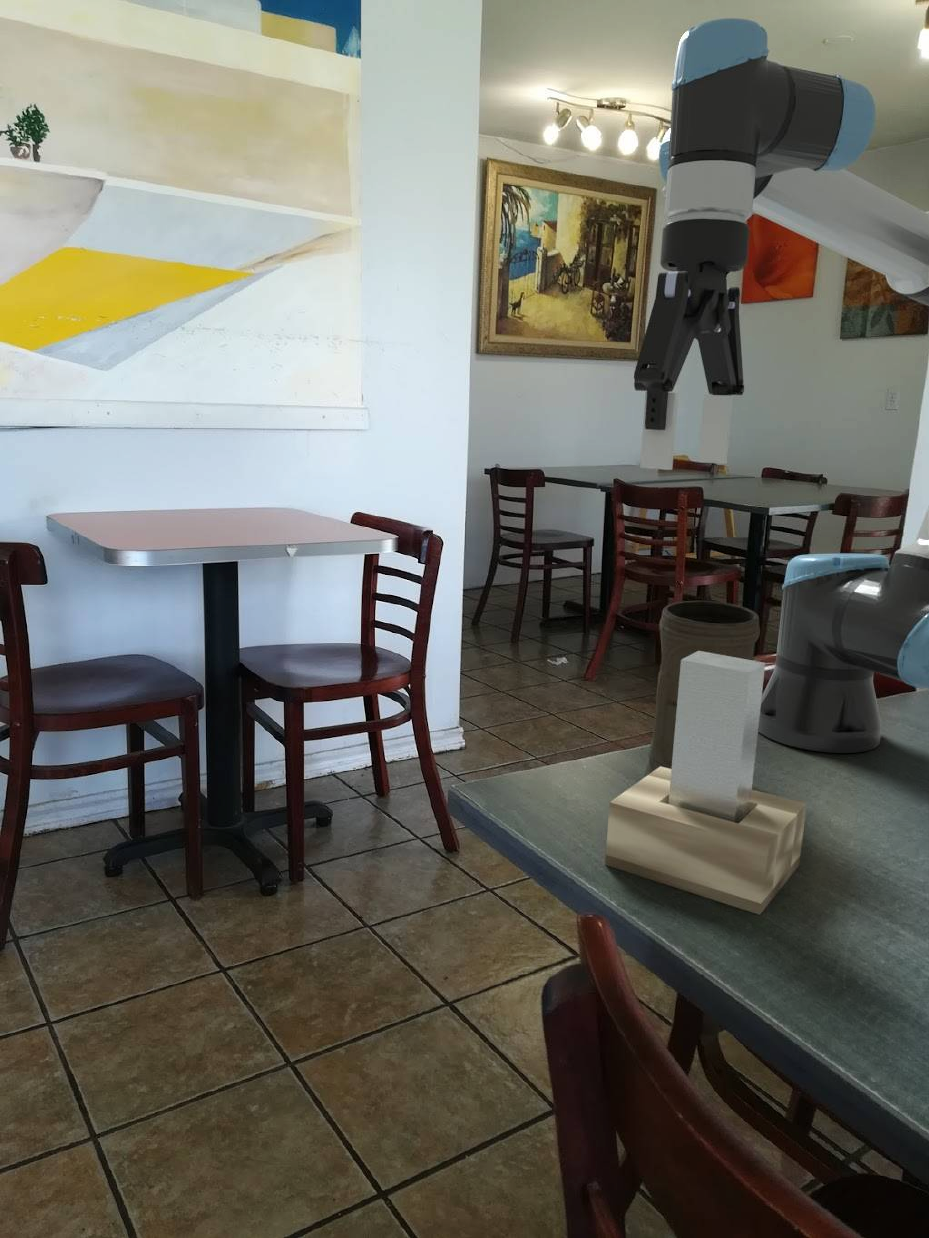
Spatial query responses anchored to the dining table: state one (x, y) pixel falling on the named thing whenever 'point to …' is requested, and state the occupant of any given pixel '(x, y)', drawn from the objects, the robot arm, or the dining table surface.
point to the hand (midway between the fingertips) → (685, 466)
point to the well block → (706, 844)
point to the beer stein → (684, 635)
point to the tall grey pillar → (716, 735)
